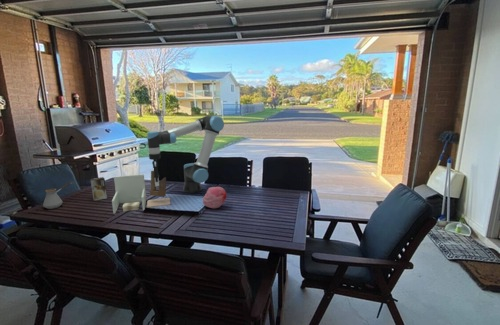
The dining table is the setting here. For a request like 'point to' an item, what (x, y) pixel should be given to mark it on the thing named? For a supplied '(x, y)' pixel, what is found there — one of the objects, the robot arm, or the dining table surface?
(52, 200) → the coffee pot
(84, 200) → the dining table surface
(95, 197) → the coffee box
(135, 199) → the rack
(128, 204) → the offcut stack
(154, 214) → the dining table surface
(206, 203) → the decorative rock
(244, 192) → the dining table surface
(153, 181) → the wooden block
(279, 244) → the dining table surface
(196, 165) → the robot arm
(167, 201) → the tile
